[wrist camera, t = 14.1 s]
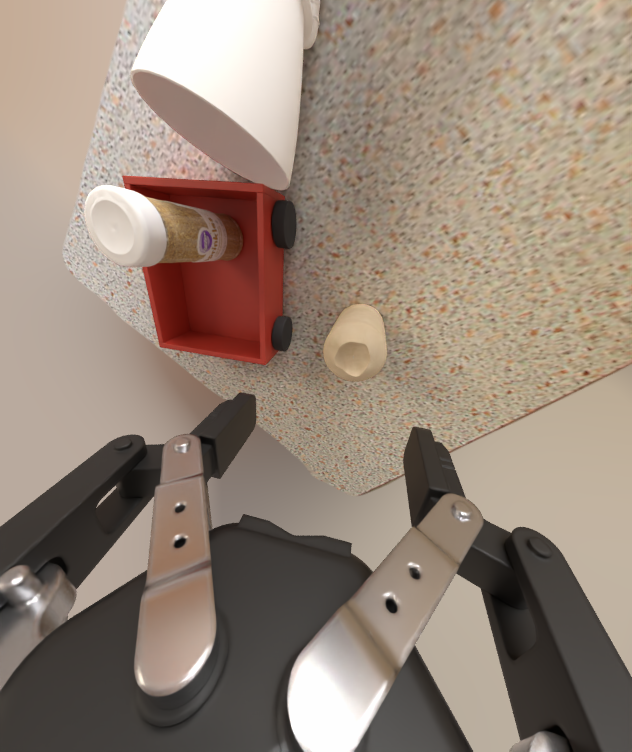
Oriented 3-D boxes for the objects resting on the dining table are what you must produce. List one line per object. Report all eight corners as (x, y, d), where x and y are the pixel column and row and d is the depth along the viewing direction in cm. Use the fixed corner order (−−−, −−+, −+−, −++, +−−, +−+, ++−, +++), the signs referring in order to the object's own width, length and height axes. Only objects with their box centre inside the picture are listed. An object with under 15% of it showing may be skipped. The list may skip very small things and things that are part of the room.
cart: (167, 188, 27) (121, 175, 22) (284, 196, 25) (263, 183, 20) (190, 333, 35) (159, 347, 30) (282, 347, 33) (265, 365, 28)
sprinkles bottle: (246, 261, 28) (154, 269, 16) (209, 259, 29) (96, 267, 17) (242, 212, 26) (132, 182, 14) (202, 212, 27) (67, 183, 15)
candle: (386, 345, 30) (391, 385, 21) (340, 352, 31) (327, 392, 22) (380, 298, 28) (383, 321, 19) (331, 308, 29) (313, 333, 20)
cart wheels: (158, 194, 28) (126, 186, 24) (297, 204, 25) (284, 197, 22) (181, 327, 35) (159, 336, 31) (291, 344, 32) (281, 356, 29)
